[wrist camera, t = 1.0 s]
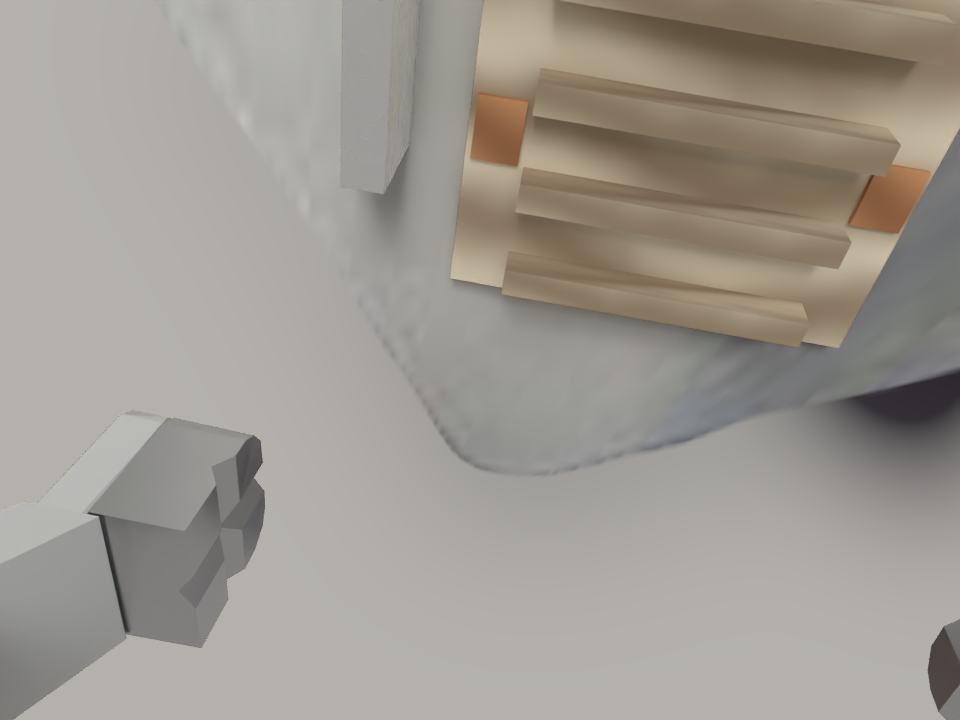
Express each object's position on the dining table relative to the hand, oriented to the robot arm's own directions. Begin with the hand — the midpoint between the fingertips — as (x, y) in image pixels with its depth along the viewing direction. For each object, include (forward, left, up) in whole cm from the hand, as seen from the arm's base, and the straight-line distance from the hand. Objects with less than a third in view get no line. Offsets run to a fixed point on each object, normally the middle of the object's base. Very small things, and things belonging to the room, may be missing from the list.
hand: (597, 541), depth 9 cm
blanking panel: (+3, -9, -31) cm, 32 cm away
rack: (+7, +6, -31) cm, 32 cm away
